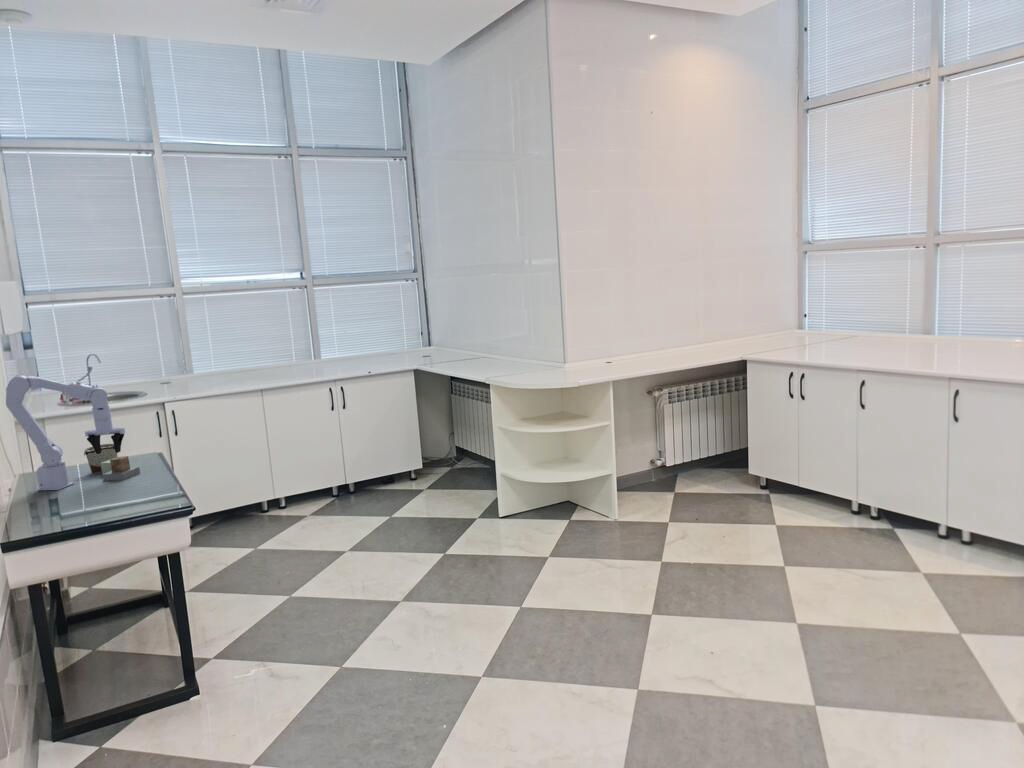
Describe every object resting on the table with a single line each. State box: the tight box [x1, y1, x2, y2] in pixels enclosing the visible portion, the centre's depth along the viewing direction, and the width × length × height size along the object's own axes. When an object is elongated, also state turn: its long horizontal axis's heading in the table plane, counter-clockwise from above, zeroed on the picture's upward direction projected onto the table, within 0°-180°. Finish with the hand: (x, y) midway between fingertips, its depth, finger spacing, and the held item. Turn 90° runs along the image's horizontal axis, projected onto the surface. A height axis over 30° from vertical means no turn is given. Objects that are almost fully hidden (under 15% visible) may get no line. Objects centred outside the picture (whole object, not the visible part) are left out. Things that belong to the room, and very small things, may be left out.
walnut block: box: [110, 455, 131, 472], centre depth 278 cm, size 4×4×5 cm
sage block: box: [100, 460, 112, 476], centre depth 285 cm, size 4×4×5 cm
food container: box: [83, 443, 118, 475], centre depth 291 cm, size 12×6×10 cm, turn 130°
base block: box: [102, 466, 141, 481], centre depth 279 cm, size 9×9×3 cm
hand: (108, 452), depth 278 cm, fingers open, 7 cm apart
